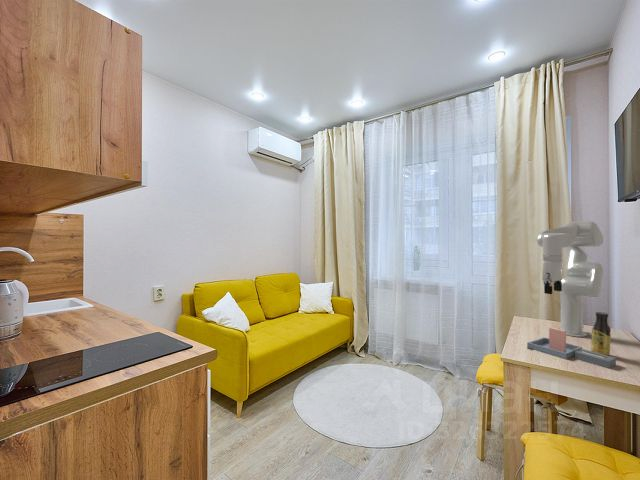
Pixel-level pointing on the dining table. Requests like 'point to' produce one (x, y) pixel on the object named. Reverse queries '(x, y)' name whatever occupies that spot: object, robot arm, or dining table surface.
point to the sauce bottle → (601, 335)
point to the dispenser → (595, 358)
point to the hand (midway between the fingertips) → (553, 292)
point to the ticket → (557, 339)
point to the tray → (543, 347)
